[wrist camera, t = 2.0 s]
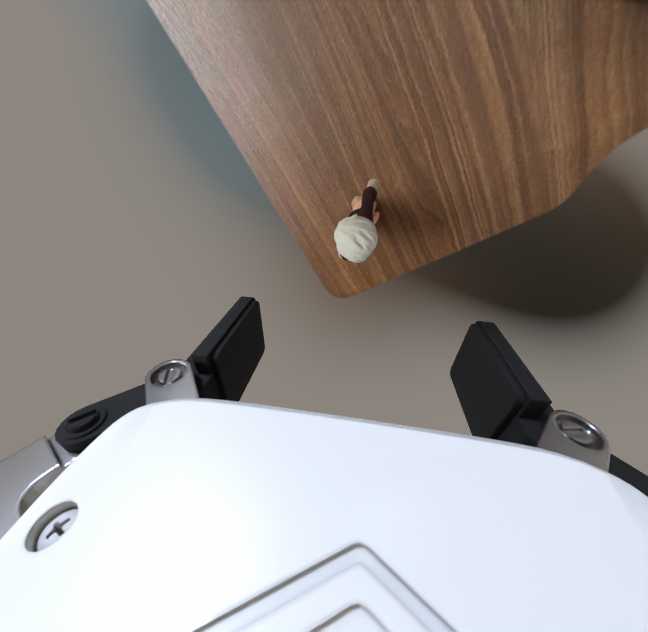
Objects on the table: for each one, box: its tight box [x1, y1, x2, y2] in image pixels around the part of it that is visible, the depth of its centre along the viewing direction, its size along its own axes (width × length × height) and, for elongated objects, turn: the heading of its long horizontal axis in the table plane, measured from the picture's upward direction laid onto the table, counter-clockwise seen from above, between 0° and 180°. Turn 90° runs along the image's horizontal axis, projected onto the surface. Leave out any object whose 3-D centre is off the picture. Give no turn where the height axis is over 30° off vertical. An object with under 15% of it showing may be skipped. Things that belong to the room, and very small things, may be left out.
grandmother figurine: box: [334, 179, 379, 263], centre depth 23 cm, size 8×4×13 cm, turn 171°
